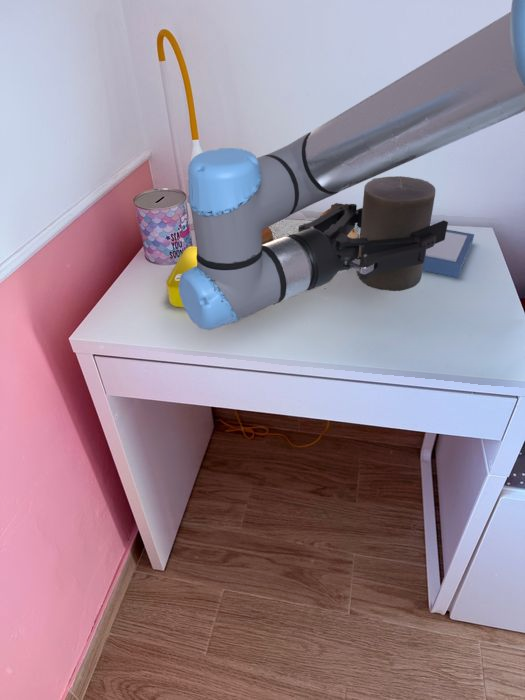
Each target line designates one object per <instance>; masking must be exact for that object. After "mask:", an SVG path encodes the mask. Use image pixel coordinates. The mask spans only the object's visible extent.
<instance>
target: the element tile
mask: <svg viewBox="0 0 525 700" xmlns="http://www.w3.org/2000/svg"><path fill="white" fill-rule="evenodd" d="M196 256H197V245H196V246H195V245H193V246H192V245H191V246H188V247H187V248H185V249H184V250H183V251H182V253H181V255H180V257H179V258H178V260H177V262H176V263H175V266H174V267H173V269H172V271H171V272H170V274H169V276H168V278H167V279H166V283H165V284H166V289H167V296H168V301H169V303H170V305H172V306H173V307H177V308H184V306H183V303H182V300H181V297H180V293H179V283H180V276H181V275H182V274H183V273H184V272H186V271H188V270H190V269H191V268H193V267H195V266H197V258H196Z"/></svg>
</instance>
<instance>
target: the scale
mask: <svg viewBox="0 0 525 700" xmlns="http://www.w3.org/2000/svg"><path fill="white" fill-rule="evenodd" d="M474 237H475V234H474V233H470V232H464V231H463V232H462V231H457V230H452V229H447V230H446V235H445V240H443V241H441V242H439V243H436V244H435V245H434V246H433V247H431V248H428V249H426V255H425V260H424V264H423V270H422V272H428V273H432V274H433V273H434V274H437V275H443V276H449V277H453V278H456V279H457V278H459V276H460V274H461V272H462V270H463V267H464V265H465V262H466V260H467V258H468V255H469V253H470V251H471V248H472V246H473V241H474Z"/></svg>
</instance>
